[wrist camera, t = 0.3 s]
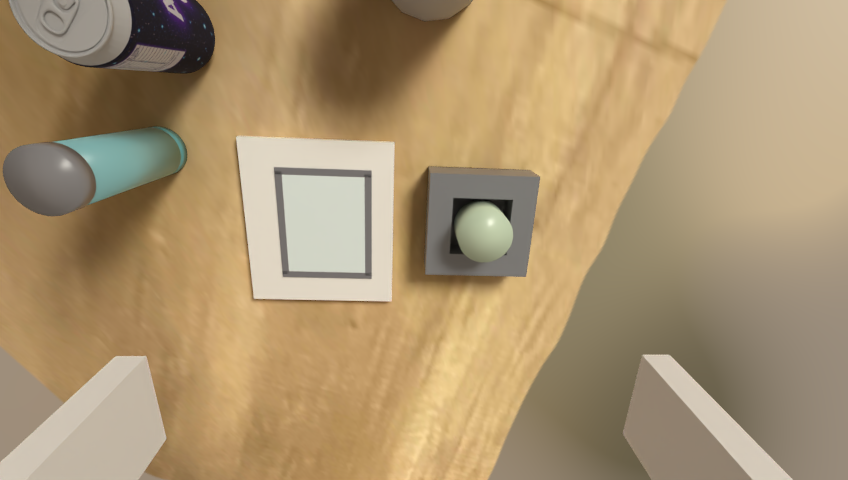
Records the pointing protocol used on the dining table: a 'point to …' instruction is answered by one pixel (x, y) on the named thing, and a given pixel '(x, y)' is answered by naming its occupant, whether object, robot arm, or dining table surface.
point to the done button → (483, 231)
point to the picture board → (318, 217)
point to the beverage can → (121, 32)
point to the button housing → (466, 185)
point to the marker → (90, 168)
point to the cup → (431, 8)
